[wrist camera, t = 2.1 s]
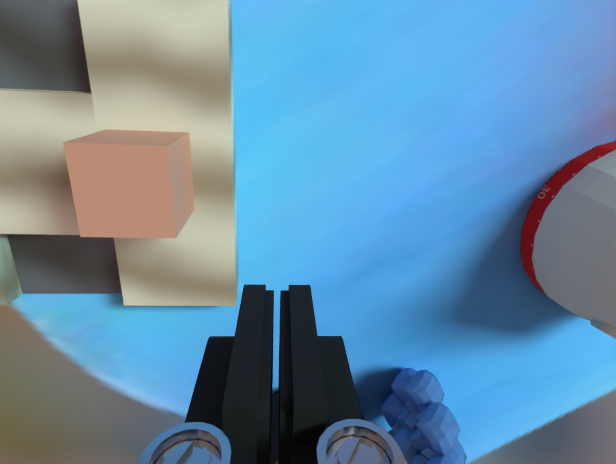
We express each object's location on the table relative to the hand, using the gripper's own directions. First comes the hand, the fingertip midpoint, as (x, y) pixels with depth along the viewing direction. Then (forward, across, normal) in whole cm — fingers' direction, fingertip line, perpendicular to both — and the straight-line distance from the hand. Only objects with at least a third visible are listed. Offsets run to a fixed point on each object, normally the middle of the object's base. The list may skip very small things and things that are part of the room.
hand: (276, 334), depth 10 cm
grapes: (+19, -12, +21) cm, 31 cm away
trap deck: (+19, +15, 0) cm, 24 cm away
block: (+17, +8, 0) cm, 18 cm away
